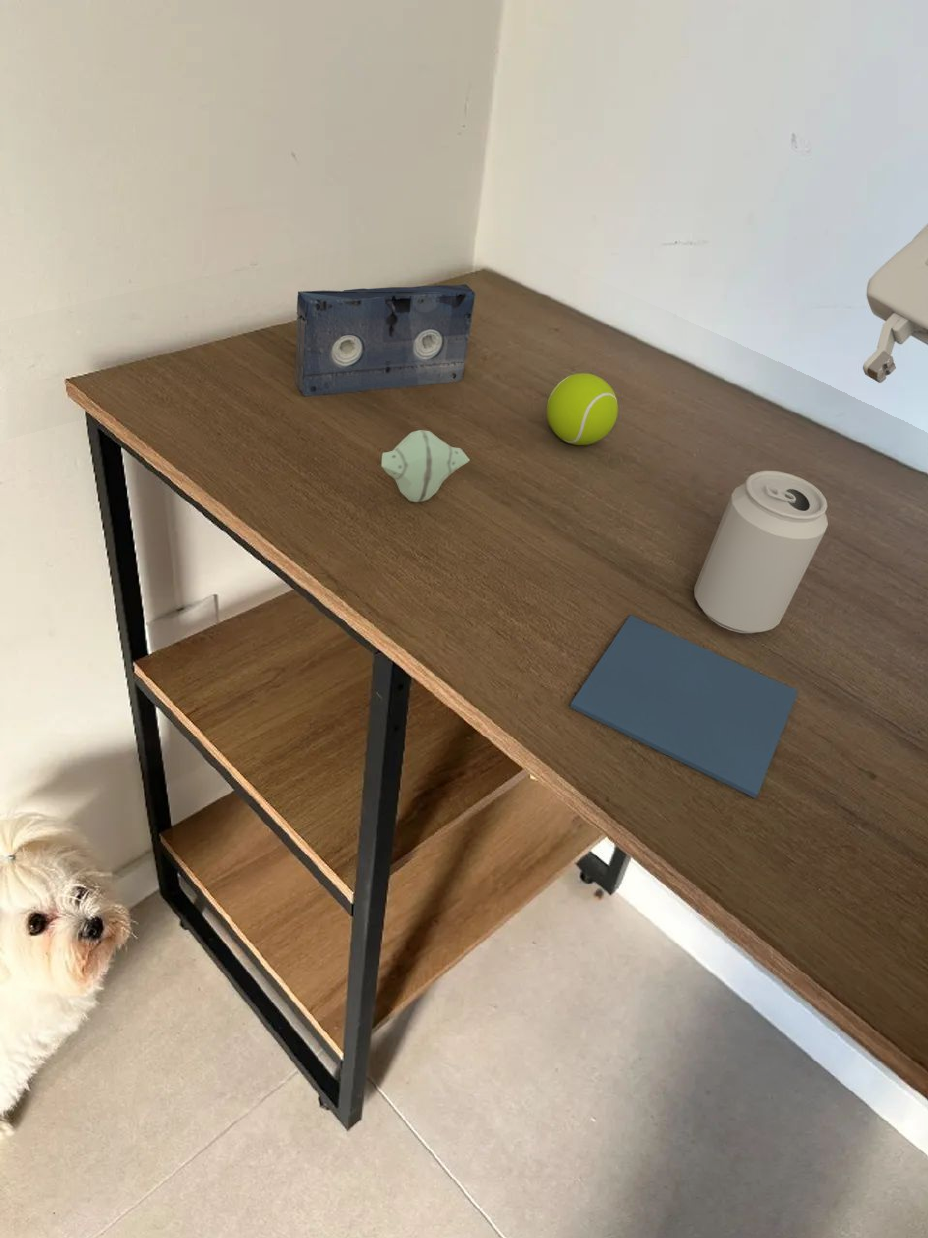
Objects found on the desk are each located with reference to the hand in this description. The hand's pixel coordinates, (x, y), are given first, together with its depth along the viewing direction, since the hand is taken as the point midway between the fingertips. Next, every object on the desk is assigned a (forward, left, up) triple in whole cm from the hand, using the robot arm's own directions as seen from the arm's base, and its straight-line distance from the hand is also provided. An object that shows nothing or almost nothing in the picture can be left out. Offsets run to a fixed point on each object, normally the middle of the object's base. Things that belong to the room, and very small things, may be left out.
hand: (918, 404), depth 71 cm
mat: (+6, +22, -18) cm, 29 cm away
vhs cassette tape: (+49, -3, -18) cm, 52 cm away
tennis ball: (+28, -7, -18) cm, 34 cm away
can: (+6, +9, -18) cm, 21 cm away
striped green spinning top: (+35, +13, -18) cm, 41 cm away
